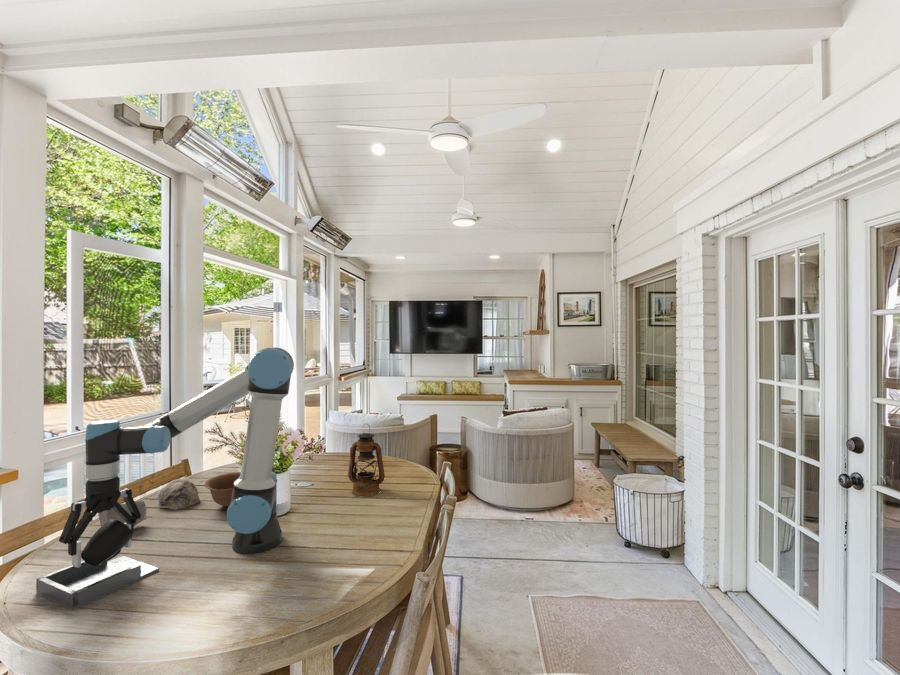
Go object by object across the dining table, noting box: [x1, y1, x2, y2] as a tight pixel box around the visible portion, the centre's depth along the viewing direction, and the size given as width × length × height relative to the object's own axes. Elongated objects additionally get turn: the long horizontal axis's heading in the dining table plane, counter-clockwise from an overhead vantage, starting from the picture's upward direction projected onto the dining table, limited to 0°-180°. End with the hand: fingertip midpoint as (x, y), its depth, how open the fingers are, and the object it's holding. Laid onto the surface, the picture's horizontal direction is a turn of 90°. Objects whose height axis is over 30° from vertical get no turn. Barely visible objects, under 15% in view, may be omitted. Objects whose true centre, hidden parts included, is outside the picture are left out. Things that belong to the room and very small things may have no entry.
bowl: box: [203, 471, 241, 511], centre depth 180 cm, size 22×22×11 cm
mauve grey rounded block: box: [97, 500, 148, 527], centre depth 156 cm, size 13×10×6 cm
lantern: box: [347, 423, 386, 497], centre depth 196 cm, size 17×13×30 cm
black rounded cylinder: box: [81, 520, 134, 566], centre depth 124 cm, size 8×12×10 cm
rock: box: [157, 478, 201, 511], centre depth 181 cm, size 15×12×10 cm
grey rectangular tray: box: [35, 555, 160, 612], centre depth 123 cm, size 17×21×4 cm
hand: (102, 555), depth 124 cm, fingers closed on black rounded cylinder, 12 cm apart
